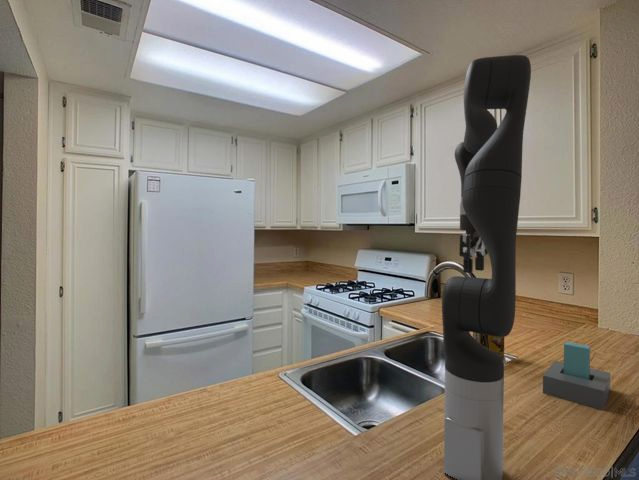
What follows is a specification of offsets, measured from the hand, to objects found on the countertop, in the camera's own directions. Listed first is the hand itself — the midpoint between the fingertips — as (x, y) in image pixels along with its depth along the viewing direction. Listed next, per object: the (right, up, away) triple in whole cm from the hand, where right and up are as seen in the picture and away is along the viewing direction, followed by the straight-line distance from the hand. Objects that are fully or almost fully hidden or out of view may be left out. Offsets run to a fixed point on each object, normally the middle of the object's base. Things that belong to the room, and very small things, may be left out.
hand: (473, 271), depth 95 cm
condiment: (+13, -30, +16) cm, 36 cm away
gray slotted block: (+23, -30, -8) cm, 39 cm away
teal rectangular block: (+23, -30, -8) cm, 39 cm away
